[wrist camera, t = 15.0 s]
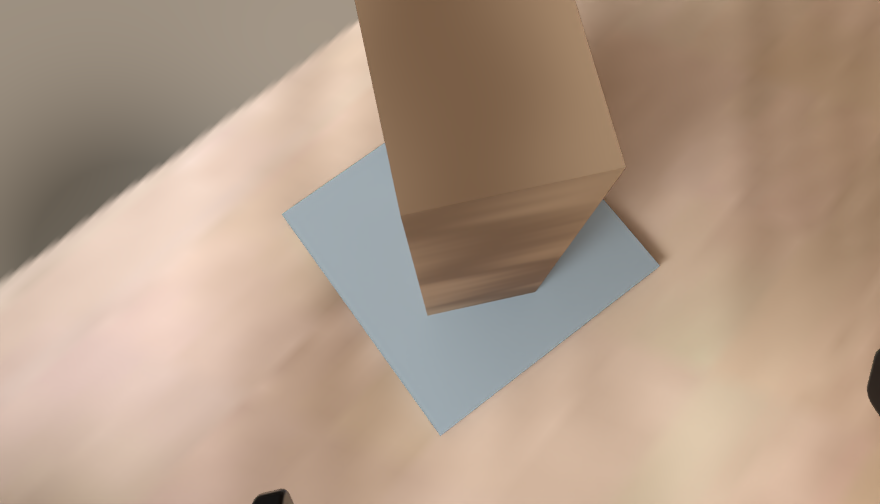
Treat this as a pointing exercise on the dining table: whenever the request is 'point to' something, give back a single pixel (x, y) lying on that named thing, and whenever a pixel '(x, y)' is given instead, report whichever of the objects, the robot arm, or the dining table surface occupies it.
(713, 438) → the dining table surface
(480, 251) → the wooden block
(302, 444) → the dining table surface
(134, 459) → the dining table surface
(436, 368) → the slate-blue rubber mat
